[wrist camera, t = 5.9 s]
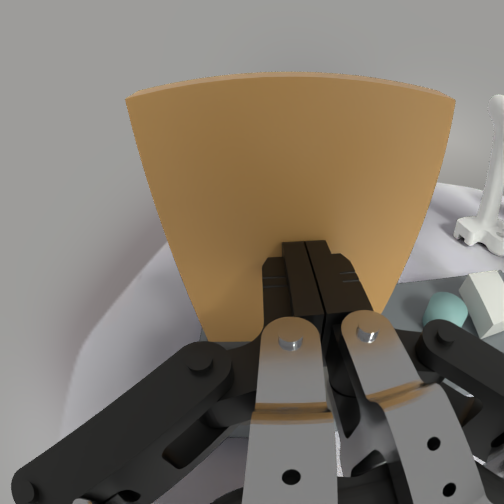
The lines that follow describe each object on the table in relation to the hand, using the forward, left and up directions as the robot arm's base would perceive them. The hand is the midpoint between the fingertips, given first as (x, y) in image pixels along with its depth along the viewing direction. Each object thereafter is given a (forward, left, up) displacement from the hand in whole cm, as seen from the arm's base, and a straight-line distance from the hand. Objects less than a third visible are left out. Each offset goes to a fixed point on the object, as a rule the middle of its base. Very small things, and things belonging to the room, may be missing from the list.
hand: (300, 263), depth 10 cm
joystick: (-33, +1, -10) cm, 34 cm away
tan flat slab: (-1, -2, -6) cm, 7 cm away
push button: (-10, +3, -7) cm, 13 cm away
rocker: (-14, +6, -7) cm, 17 cm away
